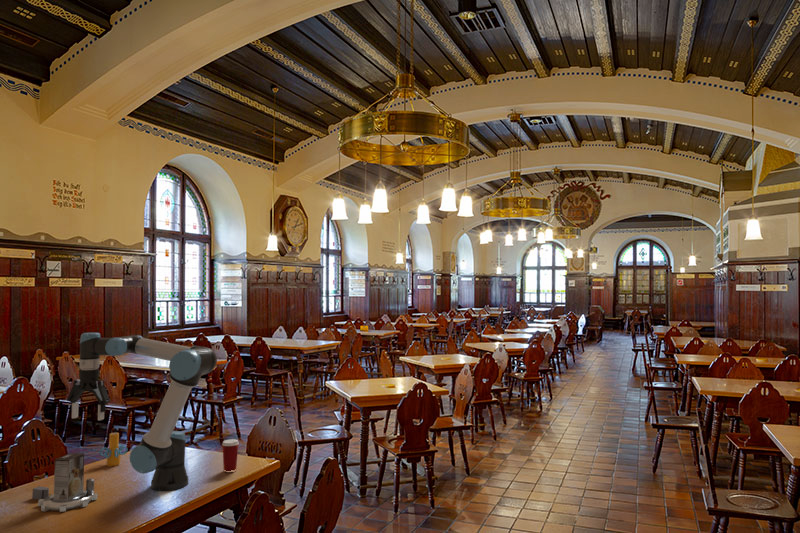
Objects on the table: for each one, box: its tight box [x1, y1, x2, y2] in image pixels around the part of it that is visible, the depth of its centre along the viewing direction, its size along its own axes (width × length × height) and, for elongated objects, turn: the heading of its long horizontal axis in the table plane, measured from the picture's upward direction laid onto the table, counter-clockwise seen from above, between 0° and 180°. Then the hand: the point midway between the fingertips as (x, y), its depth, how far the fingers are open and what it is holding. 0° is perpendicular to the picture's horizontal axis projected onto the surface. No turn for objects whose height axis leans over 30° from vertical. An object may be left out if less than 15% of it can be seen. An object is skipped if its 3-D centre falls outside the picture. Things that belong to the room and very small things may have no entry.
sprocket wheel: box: [37, 478, 98, 513], centre depth 218 cm, size 20×20×8 cm
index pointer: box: [31, 485, 50, 501], centre depth 223 cm, size 7×3×4 cm, turn 72°
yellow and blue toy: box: [99, 432, 129, 467], centre depth 267 cm, size 12×10×15 cm
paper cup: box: [221, 438, 240, 471], centre depth 259 cm, size 8×8×14 cm
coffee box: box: [53, 452, 85, 501], centre depth 219 cm, size 9×6×16 cm
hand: (87, 418), depth 234 cm, fingers open, 13 cm apart
